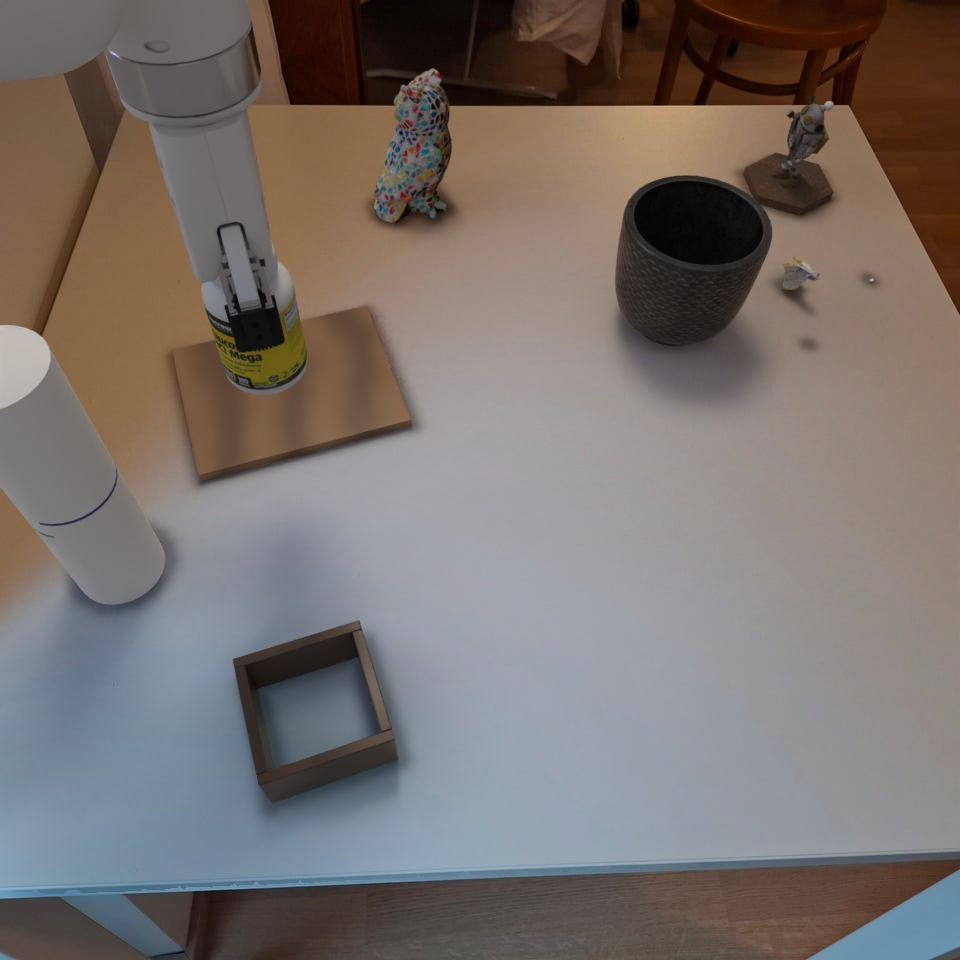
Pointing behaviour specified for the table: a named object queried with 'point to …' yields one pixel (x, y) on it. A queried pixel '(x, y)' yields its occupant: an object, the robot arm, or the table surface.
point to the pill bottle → (267, 365)
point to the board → (292, 399)
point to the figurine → (416, 151)
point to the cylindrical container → (69, 477)
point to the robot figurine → (794, 165)
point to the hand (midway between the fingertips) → (251, 308)
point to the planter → (688, 257)
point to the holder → (296, 662)
